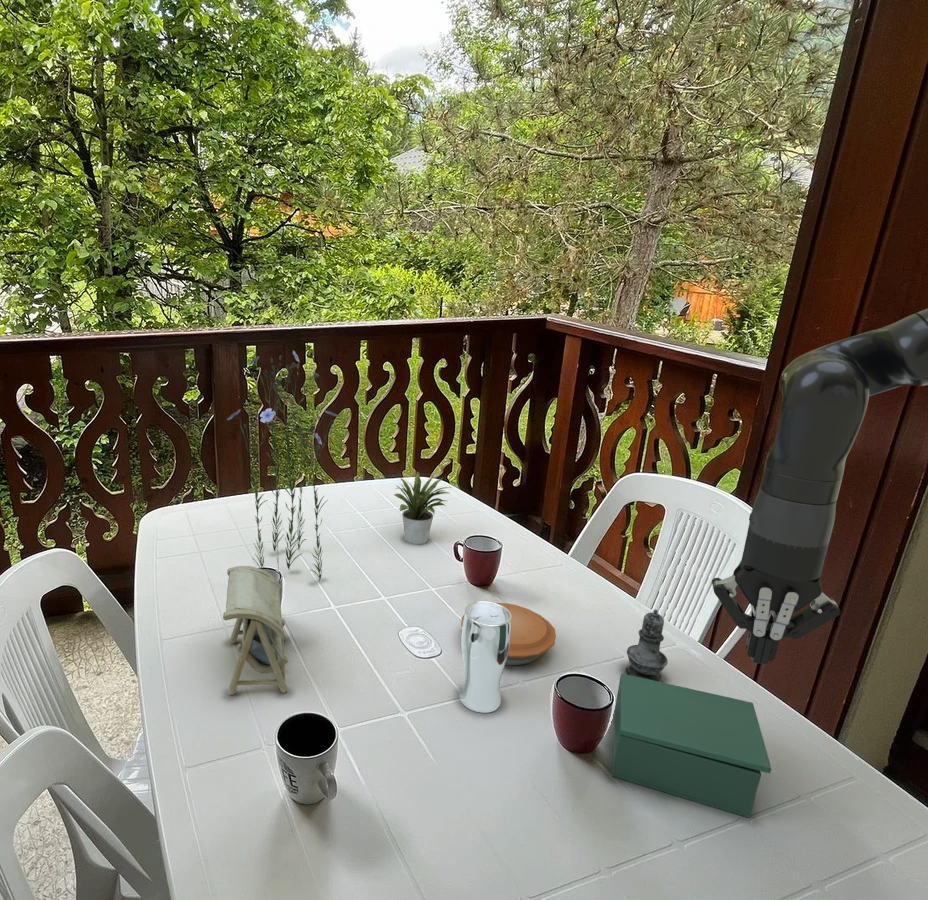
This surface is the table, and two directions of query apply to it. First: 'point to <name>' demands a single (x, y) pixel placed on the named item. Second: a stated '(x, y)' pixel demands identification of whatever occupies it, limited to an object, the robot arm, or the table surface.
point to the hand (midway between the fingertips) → (758, 659)
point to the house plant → (418, 509)
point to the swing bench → (256, 624)
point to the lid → (692, 722)
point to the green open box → (683, 772)
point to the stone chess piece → (648, 650)
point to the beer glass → (484, 654)
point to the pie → (527, 635)
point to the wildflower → (268, 417)
